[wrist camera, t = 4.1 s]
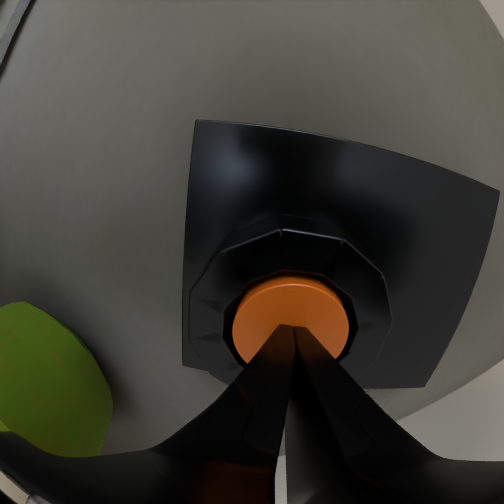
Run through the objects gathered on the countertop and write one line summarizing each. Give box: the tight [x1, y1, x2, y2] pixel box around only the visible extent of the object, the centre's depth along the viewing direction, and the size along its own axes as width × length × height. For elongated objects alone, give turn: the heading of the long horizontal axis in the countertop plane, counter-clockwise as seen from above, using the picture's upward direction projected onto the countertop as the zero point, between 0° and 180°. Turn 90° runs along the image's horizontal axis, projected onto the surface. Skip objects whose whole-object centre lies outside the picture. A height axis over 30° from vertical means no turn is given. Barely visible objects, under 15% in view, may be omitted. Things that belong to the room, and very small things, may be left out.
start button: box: [232, 270, 349, 363], centre depth 9 cm, size 4×4×2 cm
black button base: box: [182, 120, 500, 389], centre depth 10 cm, size 12×10×4 cm
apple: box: [0, 301, 114, 457], centre depth 11 cm, size 12×12×11 cm
